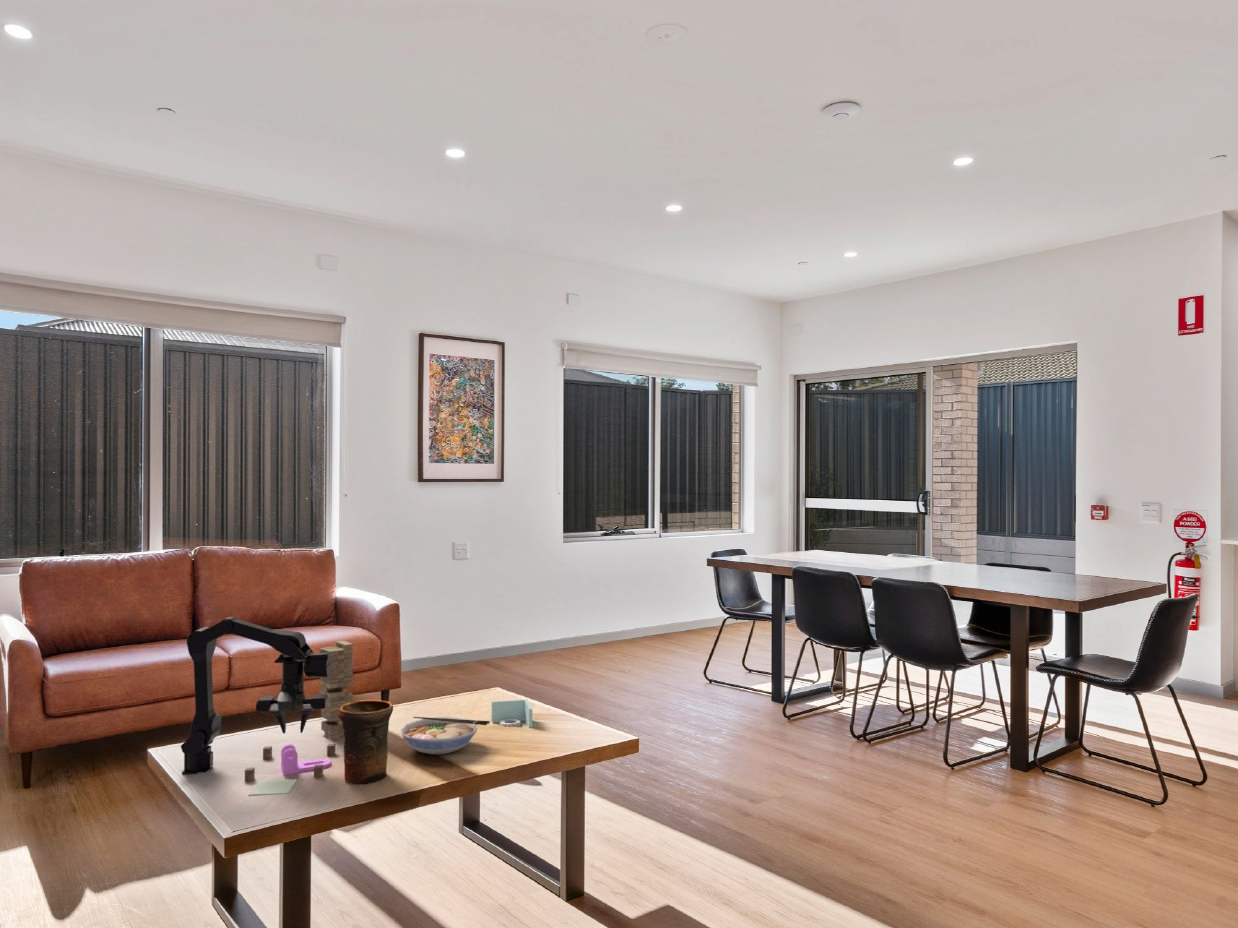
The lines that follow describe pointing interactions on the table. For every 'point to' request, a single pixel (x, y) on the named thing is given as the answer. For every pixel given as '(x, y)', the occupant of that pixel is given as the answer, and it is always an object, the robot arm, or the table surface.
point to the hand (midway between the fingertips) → (292, 732)
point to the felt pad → (273, 787)
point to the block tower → (336, 688)
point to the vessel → (365, 740)
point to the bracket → (291, 761)
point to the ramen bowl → (440, 733)
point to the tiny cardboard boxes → (268, 754)
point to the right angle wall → (511, 712)
